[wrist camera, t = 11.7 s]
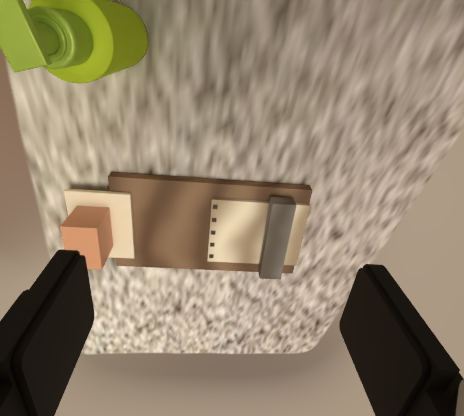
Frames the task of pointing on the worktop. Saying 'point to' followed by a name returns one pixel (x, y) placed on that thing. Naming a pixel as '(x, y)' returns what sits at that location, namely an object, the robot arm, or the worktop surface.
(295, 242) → the ticket board
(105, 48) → the soap dispenser
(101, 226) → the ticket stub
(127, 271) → the worktop surface
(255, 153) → the worktop surface
